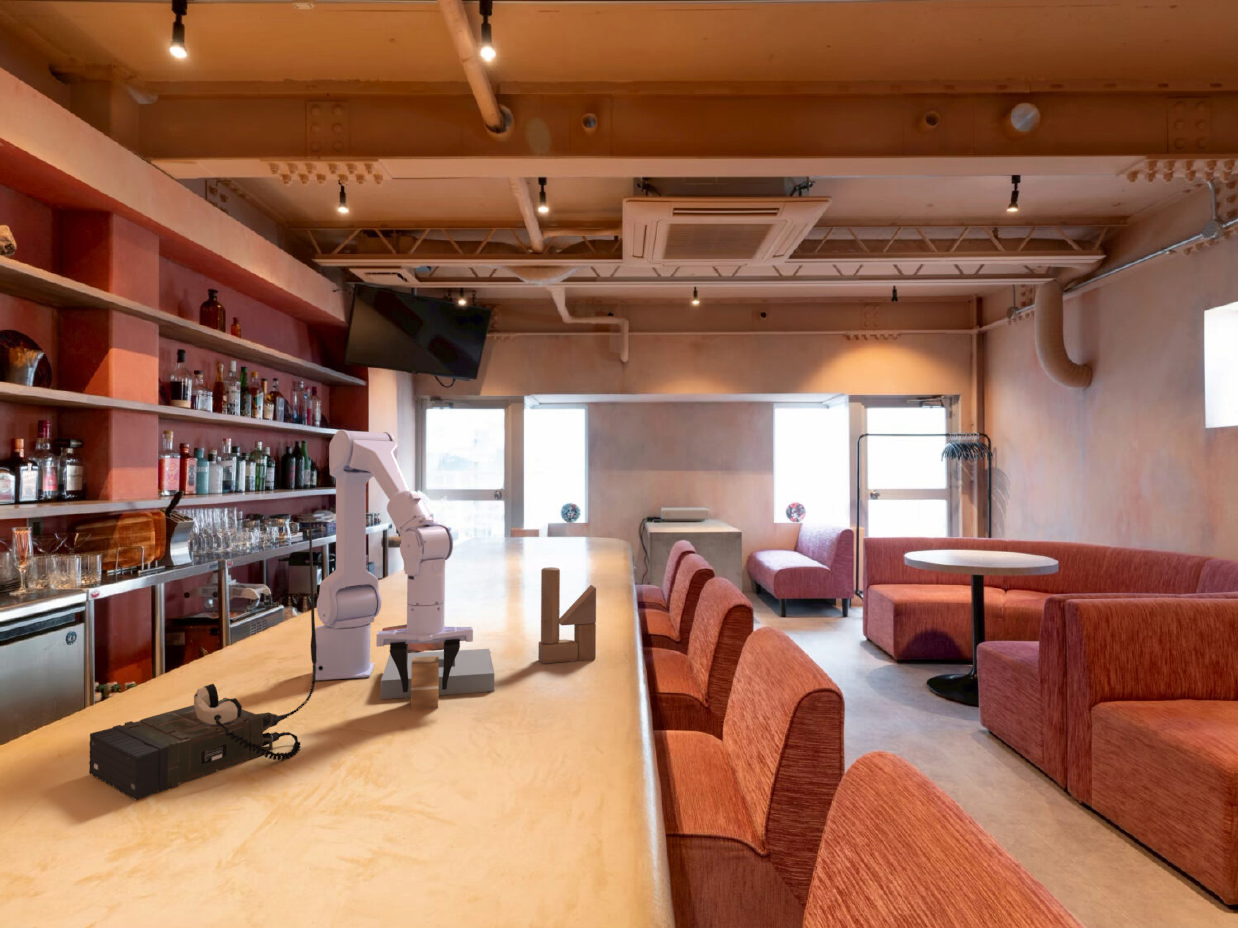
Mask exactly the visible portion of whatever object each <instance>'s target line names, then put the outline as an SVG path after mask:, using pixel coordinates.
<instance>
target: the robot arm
mask: <svg viewBox="0 0 1238 928" xmlns="http://www.w3.org/2000/svg"><path fill="white" fill-rule="evenodd" d="M328 448H329V449H328V450H329V452H328V453H329V454H328V455H329V459H328V461H329V462H328V463H329V476H331V477H333V478H335V570H334V571H332V572H331V573H330V574H329V575H328V576H326V578H323V580H322V581H321V582H320V583H319V584H320V585H319V592H318V597H317V600H316V612H317V616H318V618H319V620H320V621H321V623H322V624H320V625H317V626H315V633H316V644H317V650H316V660H317V662H316V676H315V678H316V679H315V681H327V680H328V681H329V680H341V679H343V680H344V679H356V678H357V679H359V678H360V679H361V678H369V677H371V674H372V672H373V671H374V667H375V662H371V623H374V622H375V618H376V617H377V616H379V613H380V611H381V609H382V606H383V605H382V603H383V601H382V594H381V592H380V587H379V579H378V577H377V576H375V575H374V574H373V573H371V572H370V571H368V570H367V518H366V517H367V509H366V508H367V501H366V500H367V491H366V489H367V483H368V482H369V481H370V480H371V478H374V479H375V480H376V482H377V484H378V486H379V487H380V488H381V490H382V491H383V493H384V494H385V495H386V498H387V499H388V500H389V501H388V502H387V506H386V511H387V514H388V515H389V517H390V519H391V521H392V523H393V525H394V527H395V528H396V530H397V532H398V533H399V536H400V537H401V542H400V544H399V551H400V556H401V559H402V561H403V571H404V574H405V575H407V578H406V579H407V581H406V583H407V584H406V585H407V586H406V587H407V588H406V589H407V590H406V591H407V592H406V595H407V596H406V598H407V599H406V624H407V628H406V629H398V630H390V631H382V630H381V631H380V630H379V631H377V633H376V643H375V644H376V647H377V648H378V647H384V646H389V655H390V654H391V657H392V658H393V660H394V662H395V664H396V667H397V669H398V672H399V675H400V678H401V682H402V688H403V692H408V667H407V663H408V644H415V643H434V642H444V650H443V651H444V668H443V678H442V690H445V689H447V682H448V678H449V674H450V670H451V667H452V665H453V662H454V660H455V658H456V655H457V653H458V651H459V650H460V648H461V642H466V643H467V642H468V643H470V642H473V641H474V627H473V626H445V616H446V615H445V613H446V612H445V608H446V607H445V606H446V605H445V603H446V602H445V599H446V561H447V560H448V559H449V558H450V557H451V555H452V553H453V549H454V540H453V536H452V533H451V530H450V528H449V527H448V526H447V525H445V524H442V523H440V521H439V520H435V519H434V518H433V516H432V514H431V512H430V510H429V508H428V507H427V505H426V504H425V502H424V500H423V498H422V496H421V495H420V493H419V492H417V491H414V490H410V489H409V487H408V484H407V482H406V480H405V476H404V475H403V472H402V470H401V468H400V466H399V463H398V461H397V458H398V453H399V452H398V451H399V450H398V448H399V447H398V444H397V441H396V438H395V436H394V435H393V434H392V433H390V432H388V431H383V432H379V431H378V432H377V431H360V430H359V431H356V430H346V429H339V430H337V431H336V433H334V435H333V436H332V438H331V440H330V442H329V447H328ZM314 665H315V664H314ZM311 678H312V679H313V677H311ZM312 679H311V680H312Z"/></svg>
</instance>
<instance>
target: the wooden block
mask: <svg viewBox="0 0 1238 928" xmlns="http://www.w3.org/2000/svg"><path fill="white" fill-rule="evenodd" d="M540 574H541V578H540V587H541V588H540V641H538V654H537V655H538V657H537V658H538V660H539V661H540V663H541V664H543V665H544V664H555V663H556V664H557V663H558V664H559V663H569V662H577V661H578V662H584V661H594V660H596V658H597V656H596V654H597V653H596V644H597V643H596V640H597V637H596V636H597V629H596V628H597V624H596V623H597V587H596V586H594V585H592V584H590V585H589V586H588V587H587V588H586V589H585V591H583V592H582V594H581V595H580V596H578V598H577V599H576V600H575V601H574V602H573V604H572V605H570V606H569V608H568V609H567V610H566V611H565V612H564V613H563V614H562V615H561V616H560V610H561V609H560V608H561V607H560V606H561V605H560V602H561V601H560V600H561V599H560V598H561V594H560V592H561V590H560V588H561V586H560V585H561V571H560V568H559V567H553V566H552V567H543V568H541V573H540ZM560 626H573V627H574V629H573V630H574V632H573V637H574V639H565V638H563V639H560Z"/></svg>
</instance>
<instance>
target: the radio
mask: <svg viewBox="0 0 1238 928" xmlns="http://www.w3.org/2000/svg"><path fill="white" fill-rule="evenodd" d="M311 522H312V521H310V520H309V521H308V526H309V527H308V532H309V533H308V537H309V538H308V540H309V543H308V544H309V548H308V549H309V578H310V579H309V581H310V583H309V584H310V612H311V613H310V614H311V615H310V618H311V620H310V621H311V622H310V624H311V625H310V626H311V638H310V656H311V657H310V658H311V663H312V674H311V675H312V676H311V678H313V679H311V686H310V687H311V688H310V689H309V693H308V695H307V697H306V699H305V701H303V703H301V704H300V705H299V706H297V707H296V708H295V709H293V710H292V711H290V712H287V713H285V714H281V715H277V714H275V713H272V712H268V711H267V712H262V713H253V712H251V711H248V710H245V709H243V706H242V705H241V703H240V702H239V700H238V699H237V698H227V697H223V699H220V700H219V694H218V690H217V687H216V685H215V683H211V684H207V685H204V686H203V687H199V688H198V689H196V692H195V693H194V695H193V705H189V706H185V707H183V708H178V709H175V710H171V711H170V710H169V711H166V712H163V713H158V714H155V715H151V716H149V717H146V718H142V719H140V720H138V721H132V720H131V721H126V722H124V725H123V724H118V725H114V726H112V727H111V728H106V729H103V730H99V731H95V732H91V733H90V734H89V740H90V741H89V762H88V764H89V774H90V775H92V776H93V777H96V778H97V779H98V780H99V779H100V780H101V782H105V784H106V785H110V786H111V787H114V788H115V789H116V790H119V792H120V793H122V792H123V793H124V794H125V796H127V795H128V796H129V797H130V798H133V800H135V801H136V800H139V799H142V798H144V797H147V796H150V795H153V794H155V793H158V792H159V793H161V792H164V791H167V790H168V788H170V789H174V788H176V787H179V784H182V783H184V782H190V781H194V780H196V779H199V778H203V777H205V776H208V775H211V774H214V773H217V771H218V770H219V771H221V770H224V769H226V768H228V767H232V766H235V765H238V764H240V763H244V762H245V761H248V759H249V760H252V759H255V758H258V757H260V756H264V758H265V759H267V758H268V759H271V760H274V761H276V760H277V761H280V760H281V761H284V760H285V759H287V760H290V758H293V757H294V756H296V755H297V754H298V752H299V751H300V750H301V749H300V748H301V742H300V741H299V740H298V735H295V734H294V733H291V732H290V731H288V732H287V731H286V732H285V731H283V732H280V733H279V732H277V731H275V732H271V733H270V732H266V731H267V730H268V729H270V728H273V727H275V726H277V725H278V723H279V722H281V721H283V720H285V719H288V717H290V716H293V715H294V714H296V713H297V712H299V711H300V710H301V709H302V708H303V707H304V706H305V705H306V704H308V702H309V701H310V699H311V698H312V695H313V693H314V691H315V690H314V689H315V686H316V685H315V684H316V680H315V679H316V678H315V676H316V662H317V660H316V650H317V644H316V633H315V629H316V622H315V621H316V620H315V619H316V618H315V599H314V598H315V595H314V594H315V593H314V592H315V591H314V565H313V564H314V563H313V560H314V559H313V539H312V538H313V536H312V534H313V533H312V523H311ZM314 664H315V665H314ZM285 736H291V737H292V738H293V740H294V743H293V745H292V749H291V751H288V752H279V751H278V752H276V753H275V752H273V749H274V745H273V742H274V743H275V742H276V741H278V740H279V739H280V738H281V737H285Z"/></svg>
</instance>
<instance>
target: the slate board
mask: <svg viewBox="0 0 1238 928" xmlns="http://www.w3.org/2000/svg"><path fill="white" fill-rule="evenodd" d="M429 656H439V689H438V696H445V695H458V694H459V695H460V694H474V693H487V691H490V692H495V669H494V665H493V660H492V655H491V651H490V648H477V649H474V648H473V649H461V650H460V649H459V651H458V653H457V655H456V658H455V660H454V662H453V665H452V667H451V670H450V674H449V678H448V682H447V689H445V690H442V678H443V668H444V650H437V651H423V652H419V653H408V663H407V667H408V692H403V688H402V682H401V678H400V675H399V672H398V669H397V667H396V664H395V662H394V660H393V658H392V657H391V654H390V653H389V655H388V658H387V661H386V665H385V668H384V671H383V673H382V676H381V678H380V700H386V699H389V700H390V699H404V698H403V697H405V698H411V664H412V659H413V657H429Z"/></svg>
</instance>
